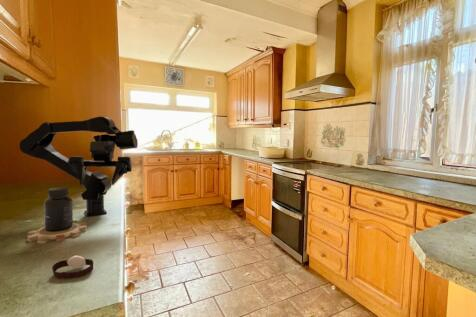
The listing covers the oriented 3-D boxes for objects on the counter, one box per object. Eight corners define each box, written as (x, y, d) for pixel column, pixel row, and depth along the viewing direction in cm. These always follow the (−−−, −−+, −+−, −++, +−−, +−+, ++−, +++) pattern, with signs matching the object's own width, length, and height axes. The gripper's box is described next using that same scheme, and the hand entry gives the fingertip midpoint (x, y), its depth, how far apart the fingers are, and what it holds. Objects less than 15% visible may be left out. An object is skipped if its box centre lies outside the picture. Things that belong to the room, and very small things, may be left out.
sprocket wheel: (28, 230, 74) (28, 226, 74) (83, 221, 83) (83, 217, 83) (26, 248, 63) (26, 242, 62) (90, 235, 72) (90, 230, 72)
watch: (97, 267, 55) (96, 251, 55) (88, 279, 50) (87, 262, 50) (59, 269, 54) (58, 253, 53) (46, 281, 49) (46, 264, 49)
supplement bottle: (38, 232, 69) (36, 191, 68) (55, 224, 76) (53, 186, 75) (63, 232, 70) (62, 191, 69) (77, 224, 76) (76, 186, 75)
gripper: (69, 132, 80) (54, 169, 70) (130, 133, 85) (124, 169, 75) (79, 154, 88) (67, 190, 79) (134, 154, 93) (129, 188, 83)
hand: (97, 184), depth 79 cm, fingers open, 9 cm apart
